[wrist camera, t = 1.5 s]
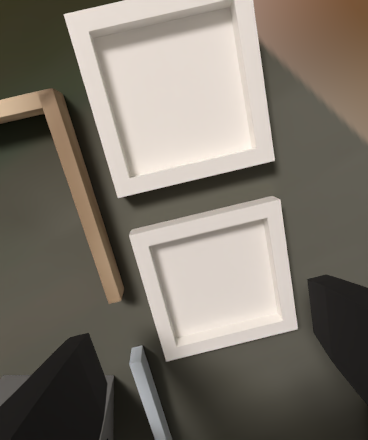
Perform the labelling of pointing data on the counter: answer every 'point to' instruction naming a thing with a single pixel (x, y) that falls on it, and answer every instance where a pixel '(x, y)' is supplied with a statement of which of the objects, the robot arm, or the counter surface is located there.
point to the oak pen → (71, 177)
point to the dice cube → (10, 383)
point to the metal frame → (149, 394)
